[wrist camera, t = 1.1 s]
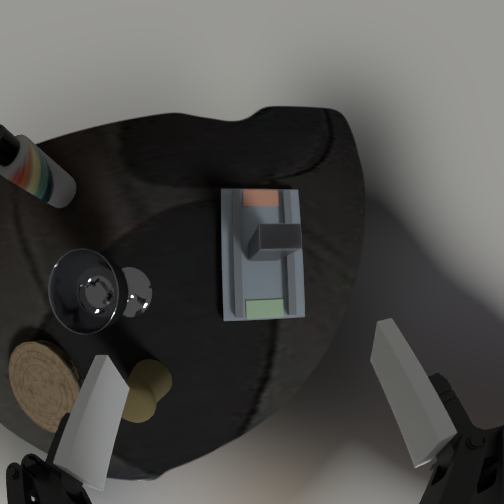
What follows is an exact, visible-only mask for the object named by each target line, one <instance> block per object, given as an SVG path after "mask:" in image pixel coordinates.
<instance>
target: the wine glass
mask: <svg viewBox="0 0 504 504" xmlns="http://www.w3.org/2000/svg"><path fill="white" fill-rule="evenodd" d="M48 293H49V300H50V304H51V307H52V310H53V312H54V314H55V316H56V317H57V319H58V320H59V321H60V323H61V324H62V325H63V326H65V327H66V328H67V329H69V330H71V331H72V332H75V333H78V334H92V333H95V332H99V331H102V330H104V329H106V328H108V327H110V326H111V325H113V324H114V323H115V322H116V321H117V320H119V318H120V317H121V316H125V317H136V316H139V315H140V314H142V313H143V312H145V311H146V309H147V308H148V307H149V305H150V303H151V300H152V286H151V283H150V281H149V279H148V277H147V276H146V275H145V274H144V273H143V272H142V271H141V270H139V269H137V268H133V267H124V268H120V267H119V266H118V265H117V264H116V263H115V262H114V261H112V260H111V259H110V258H108V257H107V256H105V255H103V254H100V253H98V252H96V251H93V250H88V249H75V250H72V251H70V252H68V253H66V254H65V255H63V256H62V257H61V258H60V259H59V260H58V261H57V263H56V264H55V266H54V268H53V270H52V272H51V275H50V279H49V287H48Z"/></svg>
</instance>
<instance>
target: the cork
mask: <svg viewBox="0 0 504 504" xmlns="http://www.w3.org/2000/svg"><path fill="white" fill-rule="evenodd" d="M125 383H126V384H127V385H128V387H129V388H130V389H129V392H128V395H127V399H126V402H125V406H124V409H123V412H122V416H121V417H123V418H124V419H126V420H128V421H131V422H135V423H139V422H144V421H146V420H148V419H150V418H151V417H152V416H153V414H154V412H155V409H156V403H157V402H158V401H159V400H160V399H161V398H162V397H163V396H164V395H165V394H166V393H167V392H168V391H169V390H170V388H171V386H172V377H171V374H170V372H169V370H168V369H167V367H166V366H164V365H163V364H162V363H161V362H159V361H157V360H152V359H145V360H142V361H140V362H138V363H137V364H136V365H135V366H134V368H133V370H132V372H131V374H130V376H129V378H128V380H126V381H125Z"/></svg>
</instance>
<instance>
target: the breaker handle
mask: <svg viewBox="0 0 504 504" xmlns="http://www.w3.org/2000/svg"><path fill="white" fill-rule="evenodd" d="M301 249H302V240H301V224H297V223H259V224H258V226H257V229H256V231H255V232H254V234H253V236H252V237H251V239H250V241H249V242H248V257H249V261H278V260H280V259H282V258H284V257H286V256H288V255H290V254H292V253H294V252H295V251H299V250H301Z"/></svg>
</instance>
